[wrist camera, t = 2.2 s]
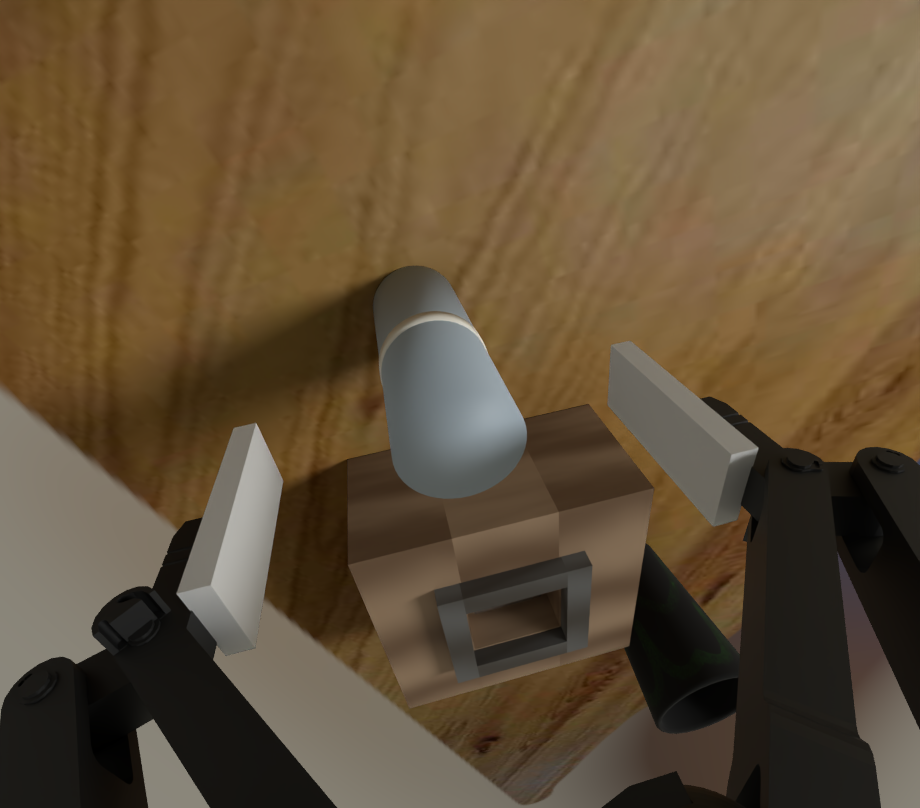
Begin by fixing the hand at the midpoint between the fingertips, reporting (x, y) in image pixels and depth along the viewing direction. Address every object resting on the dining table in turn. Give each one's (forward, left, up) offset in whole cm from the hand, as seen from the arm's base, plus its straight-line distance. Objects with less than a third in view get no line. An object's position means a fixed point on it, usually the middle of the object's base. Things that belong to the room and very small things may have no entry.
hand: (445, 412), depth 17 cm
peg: (0, 0, -9) cm, 9 cm away
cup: (+27, +14, -10) cm, 32 cm away
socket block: (+17, +2, -9) cm, 19 cm away
